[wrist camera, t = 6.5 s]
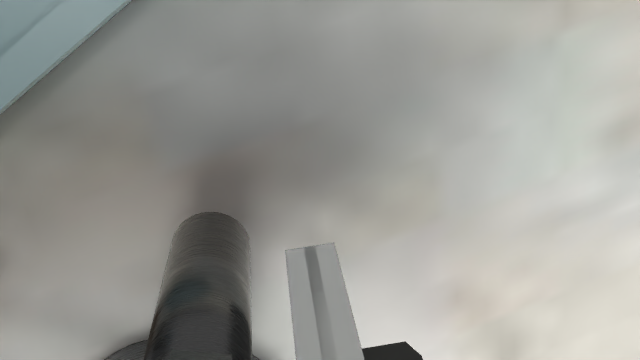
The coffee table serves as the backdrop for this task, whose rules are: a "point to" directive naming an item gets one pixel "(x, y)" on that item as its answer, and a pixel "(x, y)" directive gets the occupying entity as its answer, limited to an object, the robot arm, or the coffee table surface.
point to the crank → (204, 293)
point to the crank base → (136, 352)
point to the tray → (44, 38)
